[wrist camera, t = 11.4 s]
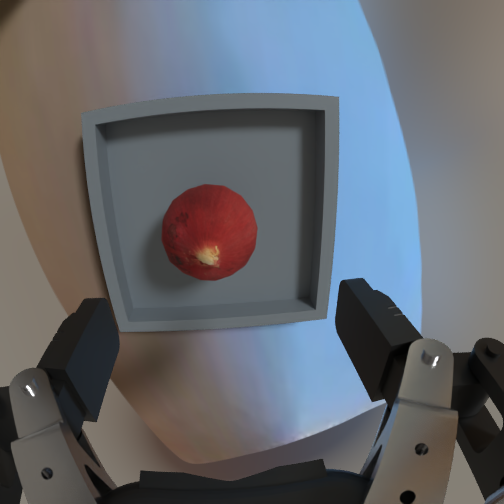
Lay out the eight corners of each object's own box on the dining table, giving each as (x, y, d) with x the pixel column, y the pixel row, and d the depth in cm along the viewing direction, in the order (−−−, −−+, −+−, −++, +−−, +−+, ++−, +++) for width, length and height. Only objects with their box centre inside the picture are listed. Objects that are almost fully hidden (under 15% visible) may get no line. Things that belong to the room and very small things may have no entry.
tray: (97, 114, 19) (81, 112, 16) (324, 100, 20) (338, 96, 18) (128, 311, 25) (120, 331, 23) (316, 299, 27) (326, 318, 24)
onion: (187, 261, 23) (171, 322, 16) (161, 190, 21) (127, 224, 13) (260, 239, 23) (277, 294, 16) (239, 165, 21) (246, 186, 13)
